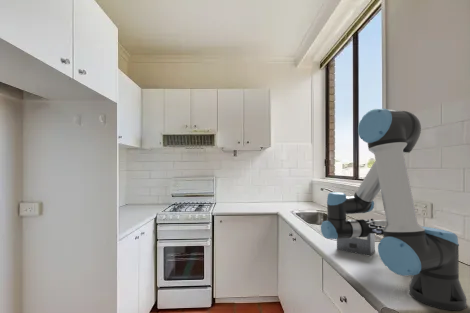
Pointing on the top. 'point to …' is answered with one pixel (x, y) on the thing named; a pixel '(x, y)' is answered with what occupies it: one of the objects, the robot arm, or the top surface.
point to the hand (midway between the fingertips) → (398, 226)
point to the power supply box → (358, 244)
